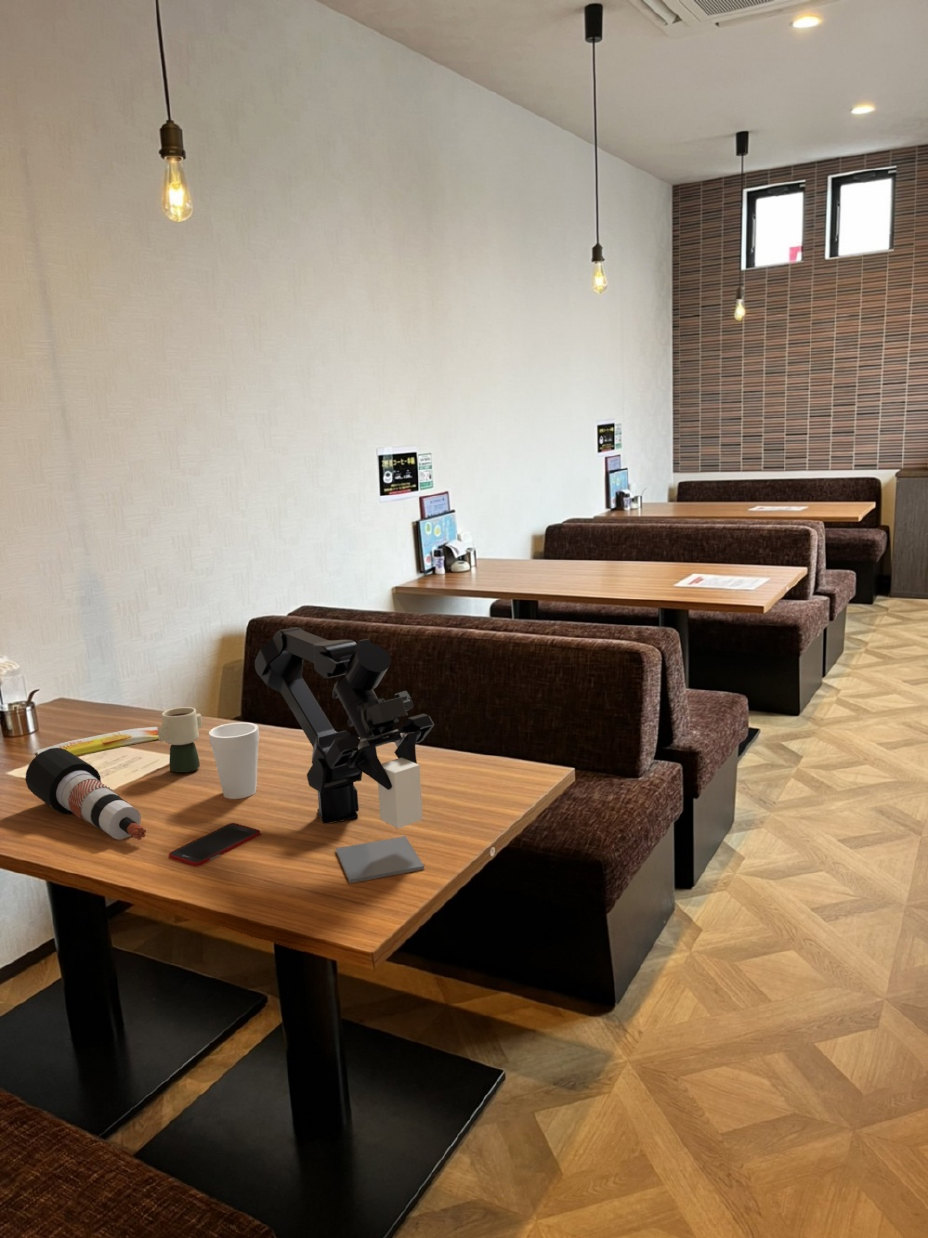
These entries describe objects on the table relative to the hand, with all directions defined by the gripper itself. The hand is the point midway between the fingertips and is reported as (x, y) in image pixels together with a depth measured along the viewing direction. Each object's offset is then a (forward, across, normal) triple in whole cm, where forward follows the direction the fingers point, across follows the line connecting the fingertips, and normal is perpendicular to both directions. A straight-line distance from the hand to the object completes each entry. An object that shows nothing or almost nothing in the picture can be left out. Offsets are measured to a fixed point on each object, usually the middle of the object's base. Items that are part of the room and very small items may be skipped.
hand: (403, 783), depth 151 cm
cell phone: (-10, -22, +28) cm, 37 cm away
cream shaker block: (+4, 0, +6) cm, 7 cm away
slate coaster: (+8, -4, +10) cm, 13 cm away
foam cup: (-24, -8, +42) cm, 49 cm away
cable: (-28, -34, +47) cm, 64 cm away
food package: (-59, -17, +78) cm, 100 cm away
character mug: (-38, -10, +56) cm, 69 cm away
